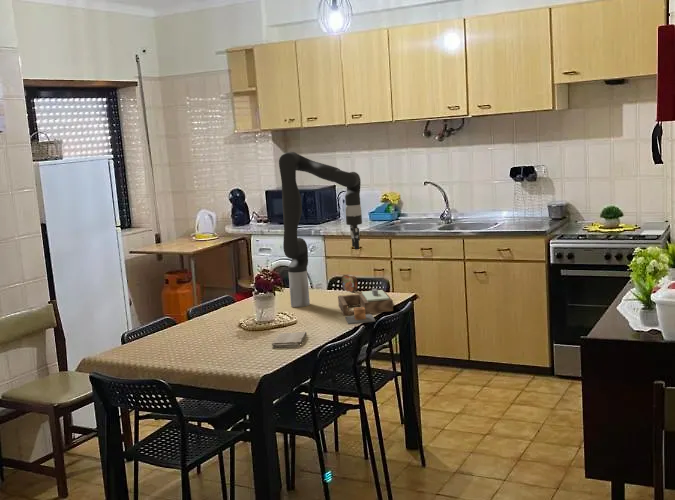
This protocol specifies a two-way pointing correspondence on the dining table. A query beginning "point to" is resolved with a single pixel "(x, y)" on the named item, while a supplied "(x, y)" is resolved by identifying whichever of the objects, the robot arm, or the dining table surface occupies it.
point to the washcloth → (289, 340)
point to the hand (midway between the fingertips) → (355, 248)
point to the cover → (375, 295)
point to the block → (359, 313)
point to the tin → (349, 283)
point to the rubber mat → (352, 320)
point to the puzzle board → (364, 304)
